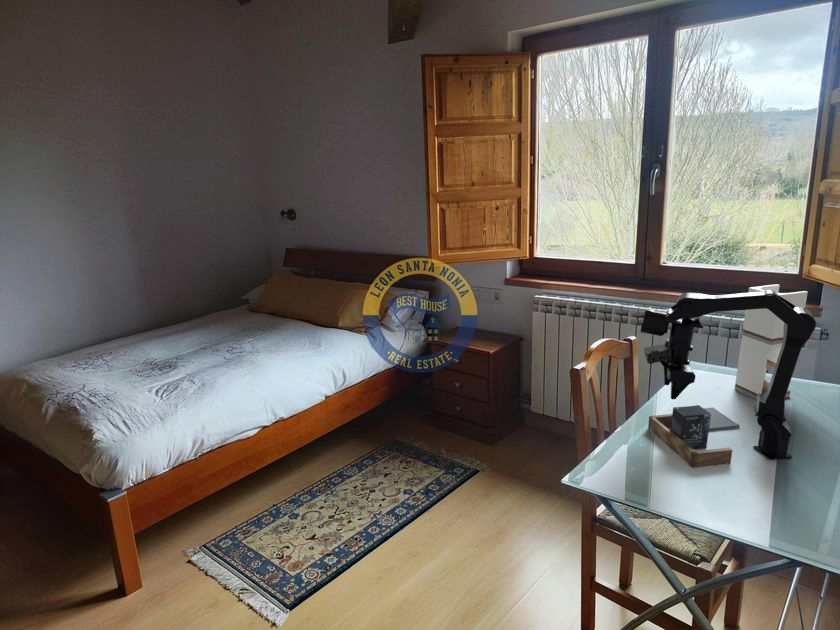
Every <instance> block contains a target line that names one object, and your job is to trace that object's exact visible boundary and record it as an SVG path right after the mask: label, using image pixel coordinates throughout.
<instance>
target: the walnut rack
mask: <svg viewBox="0 0 840 630" xmlns="http://www.w3.org/2000/svg"><path fill="white" fill-rule="evenodd" d="M648 416H649V415H648ZM671 421H672V413H668V414H658V415H657V414H656V415H650V416H649V417H648V427H647V429H648V428H649V429H648V430H649V431H650V432H651V433H653V434H654V435H655V436H656V437H657V438H658V439H659V440H661V441H662V443H664V444H665V445H666V446H668V448H669V449H671V450H672V451H673V452H674V453H675V454H676V455H677V456H679V457H680V458H681V460H683V461H684V462H685V463H687V464H688V465H689V466H690V467H691V469H693V468H695V469H696V468H704V467H713V466H721V465H722V466H723V465H730V464H731V461H732V456H733V449H732V448H731V447H722V448H721V447H720V448H711V449H703V450H701V449H700V450H695V449H692V448H691V447H690V446H688V445H687V444H686V443H685V442H684V441H682V440H681V439H680V438H679V437H678V436H676V435H675V434H674V433H673V432H671V431H670V429H671Z"/></svg>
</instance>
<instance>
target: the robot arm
mask: <svg viewBox="0 0 840 630" xmlns="http://www.w3.org/2000/svg"><path fill="white" fill-rule="evenodd" d="M750 309H768V310H770V311H771V312H772V313H773V314H775V315H776V316H777V317H778V318H779V319H781V320H782V321H783V322H784V333H783V344H782V347H781V350H780V353H779V356H778V359H777V362H776V365H775V368H773V372H772V375H771V378H770V381H769V382H770V384H769V387H768V390H767V391H766V393H765V394H764V395H762V394H759V393H758V394H757V400H756V401H755V403H754V404H753V406H752V407H753V412H754V416H755V417H756V420H757V421H756V422H757V424H758V425H759V427H760V428H761V429H760V431H759V436H758V437H759V438H758V443H757V444H758V445H753V446H752V448H753V449H754V450H755V451H756V452H758V453H760V454H761V455H762V456H763V457H765V458H767V459H768V460H770V461H772V460H782V459H790V458H793V455H792V454H790V453H789V452H788V450H789V445H790V439H791V437H792V434H793V433H792V429H791V428H790V427H791V426H790V423H789V420H788V418H786V417H785V409H786V407H785V405H786V404H785V401H786V398H785V396H786V393H787V390H789V386H790V384H791V382H792V381H791V380H792V378H793V375H794V372H795V369H796V365H797V363H798V360H799V356H800V354H801V350H802V348H803V347H804V346H805V345H806V344H807V342H809V340H810V339H811V337H812V335H813V333H814V331H815V329H816V327H817V322H816V319H815V318H814V316H813V314H812V312H811V311H810V310H809V309H808V308H807V307H805V308H803V307H796V306H795V305H793V304H792V303H791V302H789V301H787V300H786V299H784V298H782V297H781V296H779V295H778V294H777V293H776V292H775V291H772V290H767V291H763V292H752V293H748V292H741V293H729V294H717V295H716V294H715V295H713V294H705V293H699V292H684V293H682V294H680V295H679V296H678V297H677V298H676V303H675V304H673V305H672V306H671V307H669V308H668V309H667V310H666V311H665V312H664V311H659V310H654V309H650V308H646V309H645V311H644V315H643V319H642V321H641V327H640V334H644V335H645V334H646V335H651V336H657V337H663V336H665V334H666V335H667V334H668V332H669V331H668V330H669V326H671V327H670V332H669V337H668V338H666V340H665V341H664V344H656V345H651V346H646V347H644V348H643V354H644V357H645V360H646V362H647V364H649V365H652V364H654V363H655V364H656V363H660V364H661V365H662V370H663V382H664V386H669V385H670V399H671V400H676V399H677V398H678V397H679V396H680V395H681V393H683V391H684V390H686V388H688V386H689V385H691V384H693V383H695V381H696V374H695V372H694V370H692V368H691V367H690V363H691V361H690V360H689V356H690V353H691V352H693V349H694V346H693V344H692V342H693V338H694V334H695V329H696V328H697V329H704V322H703V321H702V320H701V319H700V317H703V316H706V315H708V314H712V313H713V314H714V313H718V312H732V311H746V310H750ZM670 324H671V325H670Z"/></svg>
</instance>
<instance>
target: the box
mask: <svg viewBox="0 0 840 630" xmlns="http://www.w3.org/2000/svg"><path fill="white" fill-rule="evenodd" d="M704 408H705V407H702V406H701V405H699V404H698V405H697V404H696V405H689V406H675V407H672V413H671V414H672V421H671V428H670V429H669V430H670V431H671V432H673V433H674V434H675V435H676V436H678V437H679V438H680V439H681V440H682V441H684V442H685V443H686V444H687V445H688V446H690V447H691V448H692V449H693V450H701V449H703V450H705V449H707V447H708V446H707V445H708V438H709V432H710V431H709V426H710V419H711V414H710V413H709V412H708V411H706V410H705V409H704Z"/></svg>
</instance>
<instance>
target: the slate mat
mask: <svg viewBox="0 0 840 630" xmlns="http://www.w3.org/2000/svg"><path fill="white" fill-rule="evenodd" d="M703 408H704V409H705V410H706V411H708V412H709V413H710V414H711V419H710V426H709V432H711V431H720V430H721V431H722V430H723V431H724V430H731V429H732V430H733V429H734V430H735V429H740V425H739V424H738V423H737V422H735V421H734V420H732V419H731V418H729V417H728V416H726V415H725V414H723V412H721V411H719V410H717V409H716V408H714V407H703Z"/></svg>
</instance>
